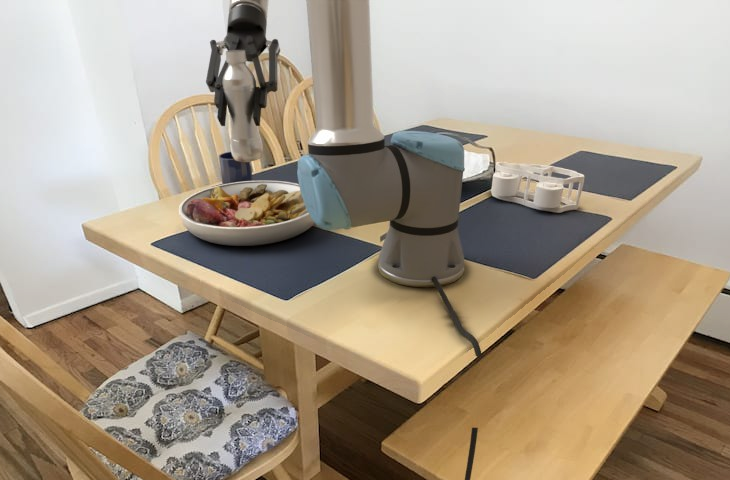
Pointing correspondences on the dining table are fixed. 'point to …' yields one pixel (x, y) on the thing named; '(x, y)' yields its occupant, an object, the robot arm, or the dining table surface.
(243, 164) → the navy cup
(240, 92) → the silver metal bottle
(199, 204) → the bowl
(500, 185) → the car outline toy
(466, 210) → the dining table surface
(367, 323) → the dining table surface
